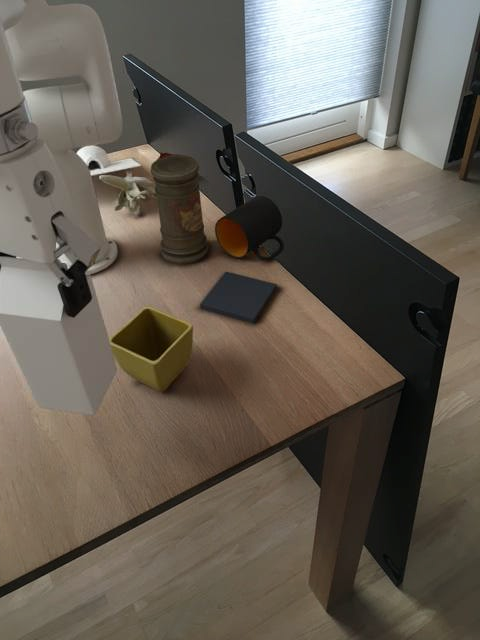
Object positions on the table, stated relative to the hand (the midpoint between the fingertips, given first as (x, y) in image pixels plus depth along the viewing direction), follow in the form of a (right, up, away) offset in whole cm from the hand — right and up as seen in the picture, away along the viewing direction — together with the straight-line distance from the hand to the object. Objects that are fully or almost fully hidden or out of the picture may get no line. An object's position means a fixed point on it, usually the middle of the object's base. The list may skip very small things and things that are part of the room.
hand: (45, 296), depth 54 cm
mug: (+26, +17, +51) cm, 60 cm away
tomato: (+4, +36, +68) cm, 77 cm away
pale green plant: (-4, +24, +65) cm, 70 cm away
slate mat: (+19, +1, +39) cm, 44 cm away
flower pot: (+8, -11, +27) cm, 30 cm away
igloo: (-14, +32, +71) cm, 79 cm away
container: (+9, +11, +51) cm, 53 cm away
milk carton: (+1, -11, +10) cm, 15 cm away
